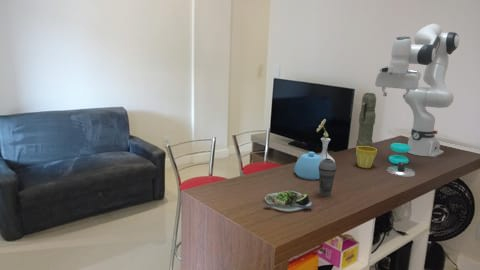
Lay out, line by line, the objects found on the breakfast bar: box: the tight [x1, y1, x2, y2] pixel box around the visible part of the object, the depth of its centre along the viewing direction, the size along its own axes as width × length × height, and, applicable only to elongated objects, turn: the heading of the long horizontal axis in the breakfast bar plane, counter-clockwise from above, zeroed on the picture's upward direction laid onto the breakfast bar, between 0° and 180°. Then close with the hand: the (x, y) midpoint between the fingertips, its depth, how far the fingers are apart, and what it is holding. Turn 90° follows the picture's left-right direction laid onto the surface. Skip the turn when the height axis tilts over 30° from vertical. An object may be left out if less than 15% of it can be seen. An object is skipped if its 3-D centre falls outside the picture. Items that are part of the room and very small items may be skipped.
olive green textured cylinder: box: [355, 92, 377, 148], centre depth 212 cm, size 9×12×35 cm
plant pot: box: [355, 146, 378, 169], centre depth 189 cm, size 10×10×10 cm
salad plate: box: [264, 190, 314, 213], centre depth 142 cm, size 19×18×5 cm
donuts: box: [388, 142, 410, 165], centre depth 197 cm, size 10×10×10 cm
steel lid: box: [386, 162, 416, 178], centre depth 182 cm, size 13×13×5 cm
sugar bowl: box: [293, 151, 322, 181], centre depth 174 cm, size 15×15×12 cm
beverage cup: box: [318, 147, 337, 197], centre depth 151 cm, size 7×7×20 cm
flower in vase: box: [316, 118, 336, 163], centre depth 188 cm, size 13×11×25 cm
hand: (394, 97), depth 186 cm, fingers open, 8 cm apart
